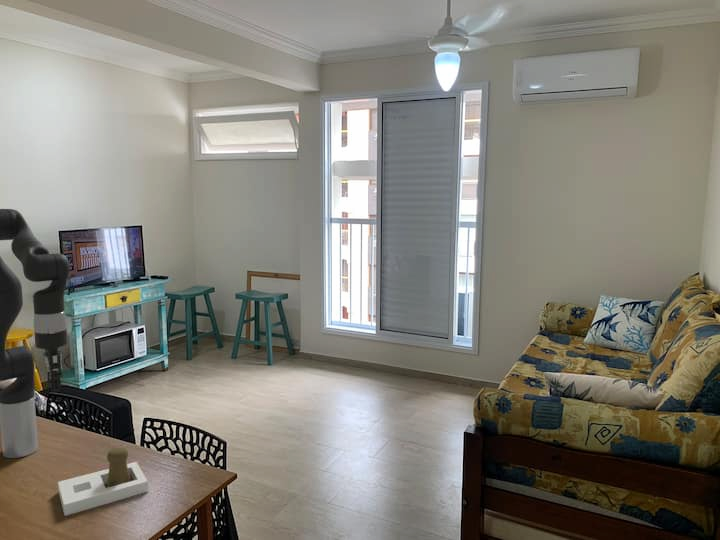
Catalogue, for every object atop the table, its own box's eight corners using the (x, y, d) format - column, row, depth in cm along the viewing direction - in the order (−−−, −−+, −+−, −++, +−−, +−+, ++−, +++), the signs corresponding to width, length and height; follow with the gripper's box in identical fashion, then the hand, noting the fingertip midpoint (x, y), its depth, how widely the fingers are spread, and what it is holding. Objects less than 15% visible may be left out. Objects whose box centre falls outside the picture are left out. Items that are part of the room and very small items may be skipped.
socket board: (58, 492, 143) (57, 481, 143) (136, 471, 155) (136, 461, 154) (64, 516, 133) (63, 504, 132) (148, 491, 144) (147, 481, 144)
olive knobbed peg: (122, 494, 143) (120, 455, 142) (102, 491, 144) (100, 453, 142) (135, 482, 149) (133, 445, 147) (115, 480, 150) (114, 443, 148)
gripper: (32, 324, 145) (36, 381, 147) (36, 336, 134) (40, 397, 136) (63, 321, 150) (66, 377, 152) (70, 332, 138) (73, 392, 140)
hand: (54, 386), depth 144 cm, fingers open, 8 cm apart
